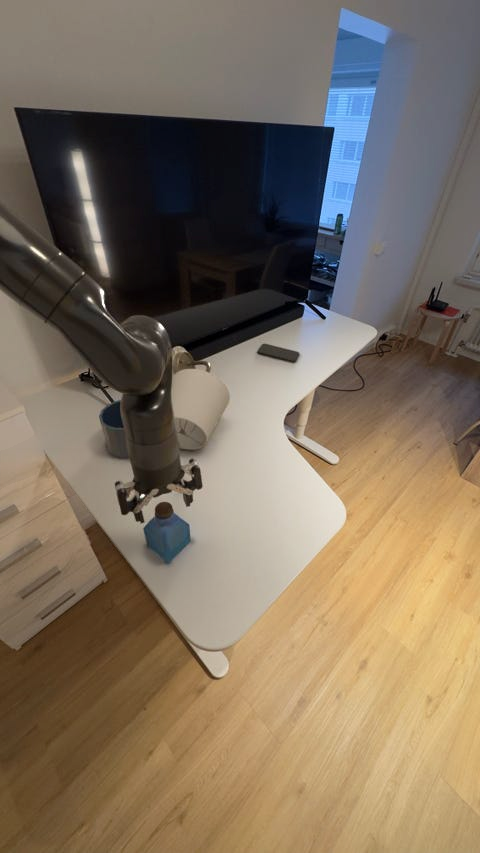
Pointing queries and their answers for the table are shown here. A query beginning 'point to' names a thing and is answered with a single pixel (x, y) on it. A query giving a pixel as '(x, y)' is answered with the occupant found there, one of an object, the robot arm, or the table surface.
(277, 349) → the phone
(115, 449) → the holder
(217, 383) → the light fixture
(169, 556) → the perfume bottle
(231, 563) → the table surface
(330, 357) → the table surface
